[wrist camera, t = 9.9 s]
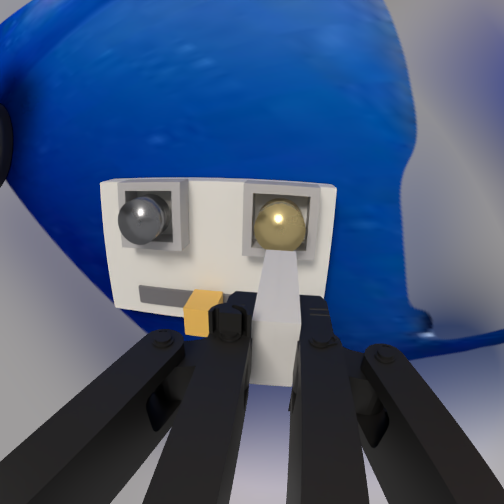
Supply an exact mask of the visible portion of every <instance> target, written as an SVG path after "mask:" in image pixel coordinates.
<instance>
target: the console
mask: <svg viewBox="0 0 504 504" xmlns="http://www.w3.org/2000/svg"><path fill="white" fill-rule="evenodd" d="M100 190H101V205H102V217H103V228H104V237H105V246H106V253H107V261H108V268H109V274H110V281H111V287H112V292H113V298H114V303H115V307H117V308H123V309H129V310H136V311H142V312H149V313H156V314H163V315H170V316H178V317H184V313H183V307H184V306H185V304H186V303H187V301H188V299H189V298H190V296H191V294H192V293H193V291H194V289H200V290H210V291H221V292H223V303H227V300H228V298H229V296H230V295H231V294H233V293H234V292H235V291H244V292H258V287H259V283H260V278H261V273H262V268H263V263H264V258H265V252H266V250H265V249H264V248H262V247H261V246H260V244H259V243H258V242H257V240H256V237H255V233H254V225H255V221H256V219H257V216H258V214H259V211H260V209H261V208H262V206H263V205H264V204H265V203H267V202H268V201H270V200H272V199H276V198H285V199H288V200H291V201H292V202H294V203H295V204H296V205H297V206H298V207H299V208H300V210H301V212H302V215H303V218H304V222H305V227H306V232H305V237H304V240H303V242H302V243H301V244H300V246H299V247H298V248H297V249H295V250H294V251H296V258H297V270H298V283H299V295H314V296H321V297H322V298H323V299H324V293H325V286H326V280H327V272H328V265H329V257H330V249H331V241H332V232H333V223H334V213H335V203H336V191H337V188H336V187H334V186H333V185H332V184H321V183H309V182H295V181H280V180H261V179H237V178H125V179H112V180H108V181H104V182H100ZM146 194H155V195H158V196H160V197H161V198H163V199H164V200H165V202H166V203H167V204H168V206H169V209H170V214H171V219H170V223H169V226H168V227H167V229H166V230H165V231H164V232H162V233H161V234H160V235H158V236H157V237H156V238H155V239H153V240H152V241H151V242H149V243H147V244H144V245H136V244H133V243H131V242H129V241H128V240H127V239H126V238H125V237H124V236H123V235H122V233H121V231H120V229H119V226H118V214H119V211H120V209H121V207H122V206H123V205H124V204H125V203H127V202H128V201H131V200H133V199H136V198H138V197H141V196H143V195H146Z"/></svg>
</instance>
